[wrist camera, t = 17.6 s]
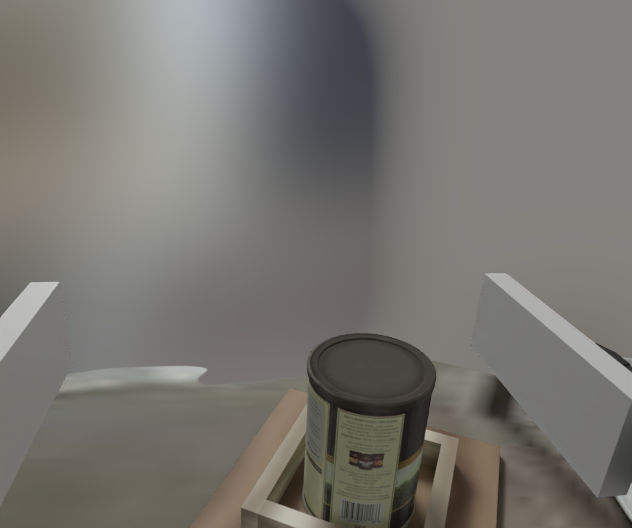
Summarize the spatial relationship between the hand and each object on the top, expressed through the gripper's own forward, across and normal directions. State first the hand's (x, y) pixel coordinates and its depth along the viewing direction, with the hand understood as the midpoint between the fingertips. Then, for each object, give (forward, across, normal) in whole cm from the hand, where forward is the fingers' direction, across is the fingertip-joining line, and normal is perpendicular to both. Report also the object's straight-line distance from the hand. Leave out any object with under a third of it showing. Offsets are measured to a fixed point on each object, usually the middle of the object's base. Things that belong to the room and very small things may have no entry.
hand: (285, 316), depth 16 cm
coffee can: (+19, +9, -29) cm, 36 cm away
